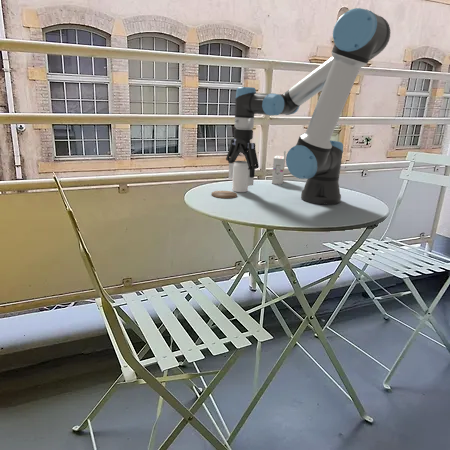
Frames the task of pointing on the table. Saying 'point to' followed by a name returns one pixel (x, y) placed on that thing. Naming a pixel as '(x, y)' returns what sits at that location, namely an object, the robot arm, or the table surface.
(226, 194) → the coaster
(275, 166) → the ink cartridge box
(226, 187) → the table surface
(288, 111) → the robot arm
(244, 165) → the can
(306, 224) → the table surface
